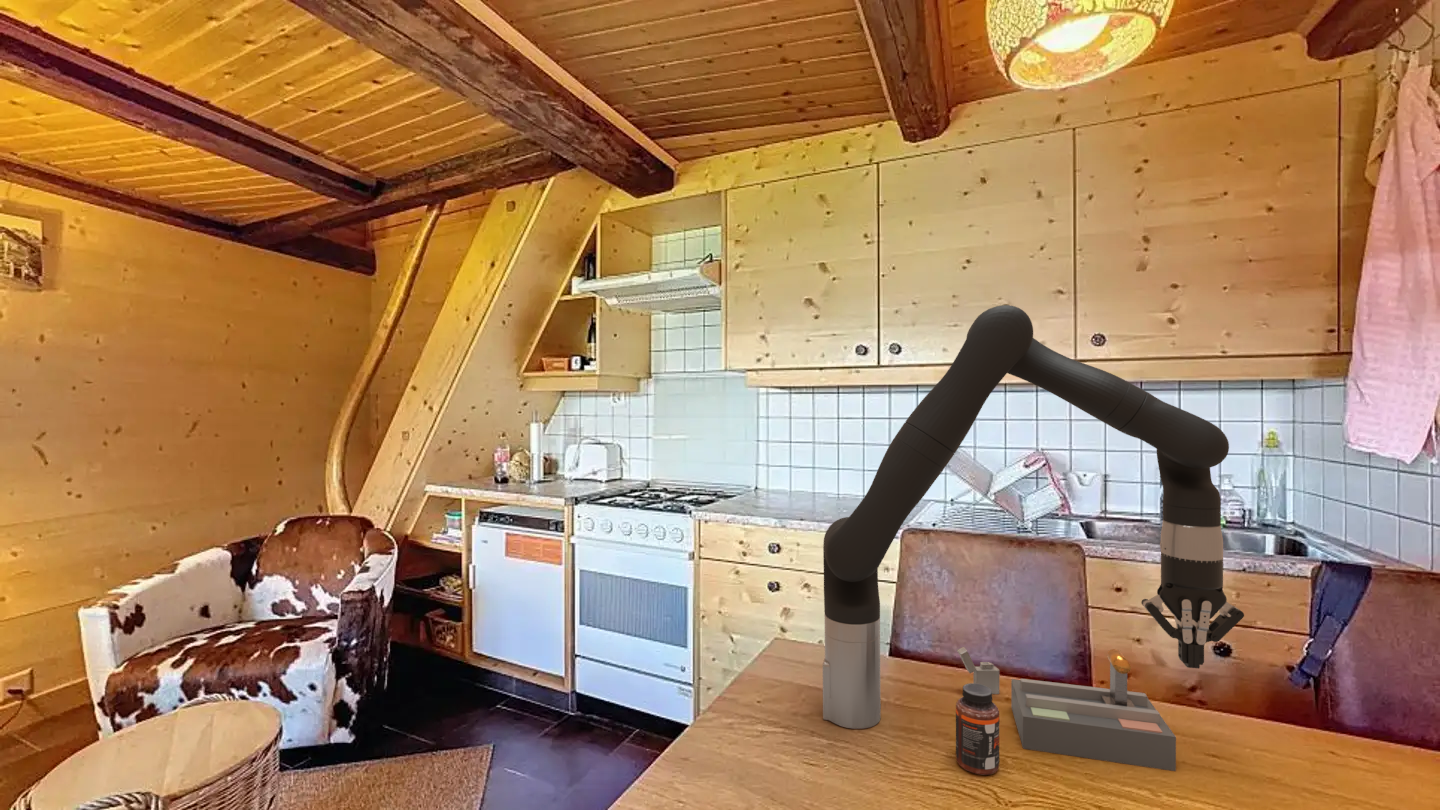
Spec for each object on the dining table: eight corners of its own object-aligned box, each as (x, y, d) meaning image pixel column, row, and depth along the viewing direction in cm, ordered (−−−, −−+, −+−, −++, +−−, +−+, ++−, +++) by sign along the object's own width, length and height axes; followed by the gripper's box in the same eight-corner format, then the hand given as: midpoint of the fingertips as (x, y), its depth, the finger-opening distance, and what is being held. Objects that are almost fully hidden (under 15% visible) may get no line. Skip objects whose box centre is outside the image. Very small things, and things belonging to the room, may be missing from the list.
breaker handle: (1107, 712, 97) (1107, 658, 97) (1100, 700, 101) (1100, 647, 100) (1137, 716, 96) (1137, 661, 95) (1129, 703, 99) (1129, 650, 99)
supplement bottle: (1004, 779, 89) (1003, 700, 89) (959, 775, 90) (959, 696, 90) (994, 755, 95) (994, 681, 94) (952, 751, 96) (952, 678, 96)
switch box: (1022, 748, 96) (1022, 706, 96) (1011, 707, 109) (1011, 669, 109) (1175, 771, 90) (1176, 726, 90) (1145, 725, 103) (1145, 685, 103)
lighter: (995, 689, 115) (995, 646, 115) (999, 694, 114) (999, 650, 114) (956, 689, 116) (956, 646, 115) (960, 694, 114) (960, 650, 114)
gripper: (1148, 555, 93) (1149, 671, 93) (1257, 561, 89) (1256, 682, 89) (1132, 543, 100) (1132, 651, 101) (1232, 548, 96) (1232, 660, 97)
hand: (1191, 665), depth 95 cm, fingers closed
